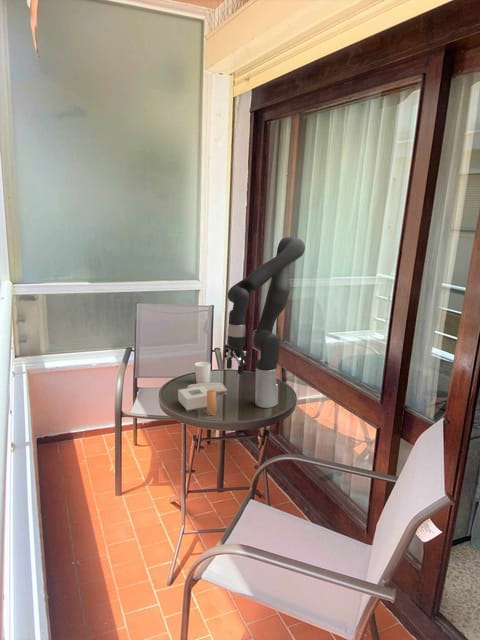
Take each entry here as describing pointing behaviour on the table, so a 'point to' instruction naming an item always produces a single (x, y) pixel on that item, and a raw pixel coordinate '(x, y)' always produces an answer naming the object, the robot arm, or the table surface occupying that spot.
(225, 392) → the washcloth
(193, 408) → the socket block
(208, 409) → the plug
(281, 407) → the table surface
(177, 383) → the table surface
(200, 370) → the white cup
